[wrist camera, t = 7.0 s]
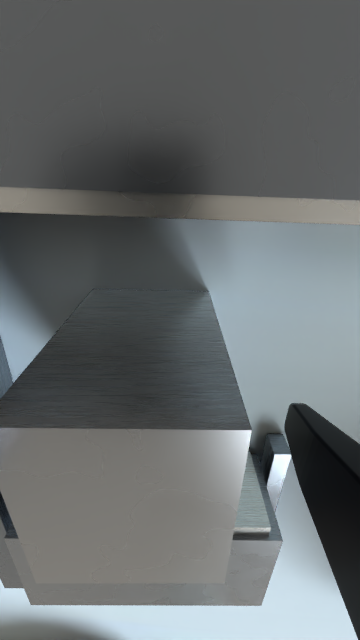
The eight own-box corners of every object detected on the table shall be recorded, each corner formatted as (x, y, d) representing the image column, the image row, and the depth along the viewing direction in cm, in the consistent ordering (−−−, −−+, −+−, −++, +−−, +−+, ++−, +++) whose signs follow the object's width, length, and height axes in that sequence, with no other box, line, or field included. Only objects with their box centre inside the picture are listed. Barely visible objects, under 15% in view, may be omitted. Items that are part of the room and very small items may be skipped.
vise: (256, 536, 18) (276, 623, 14) (34, 534, 18) (-2, 623, 14) (373, 87, 8) (527, 7, 5) (-117, 64, 8) (-365, -43, 4)
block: (201, 392, 13) (224, 583, 7) (104, 391, 13) (36, 583, 7) (208, 290, 11) (251, 430, 5) (93, 288, 11) (-25, 427, 5)
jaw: (243, 517, 17) (261, 605, 14) (62, 515, 17) (30, 604, 13) (258, 447, 15) (285, 533, 11) (45, 444, 14) (0, 531, 11)
